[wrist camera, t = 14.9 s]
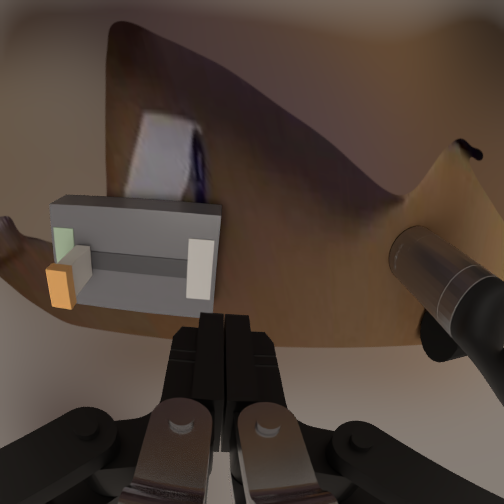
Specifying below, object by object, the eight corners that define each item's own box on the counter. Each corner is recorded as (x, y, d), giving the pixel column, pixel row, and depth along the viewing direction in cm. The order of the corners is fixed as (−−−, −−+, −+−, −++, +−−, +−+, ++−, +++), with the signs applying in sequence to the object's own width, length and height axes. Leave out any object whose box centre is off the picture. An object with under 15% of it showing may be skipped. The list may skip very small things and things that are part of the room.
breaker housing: (221, 205, 41) (221, 216, 36) (213, 299, 46) (212, 319, 41) (66, 194, 38) (48, 204, 33) (73, 284, 44) (60, 301, 39)
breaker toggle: (92, 244, 36) (65, 271, 29) (94, 277, 38) (71, 309, 30) (74, 242, 35) (45, 269, 28) (77, 275, 37) (52, 306, 30)
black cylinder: (504, 309, 60) (518, 343, 53) (414, 321, 53) (430, 371, 46) (529, 285, 52) (546, 321, 46) (446, 291, 45) (468, 345, 39)
